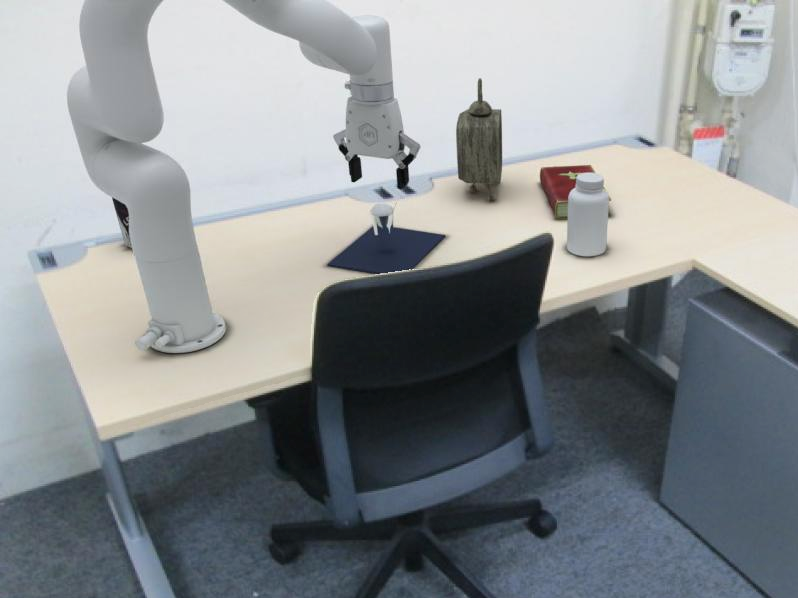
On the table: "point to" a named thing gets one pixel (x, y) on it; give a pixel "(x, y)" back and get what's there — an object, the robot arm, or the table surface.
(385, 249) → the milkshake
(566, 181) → the hardcover book
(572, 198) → the pill bottle
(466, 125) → the tabletop clock
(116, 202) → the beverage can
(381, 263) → the mouse pad
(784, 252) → the table surface
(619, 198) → the table surface
